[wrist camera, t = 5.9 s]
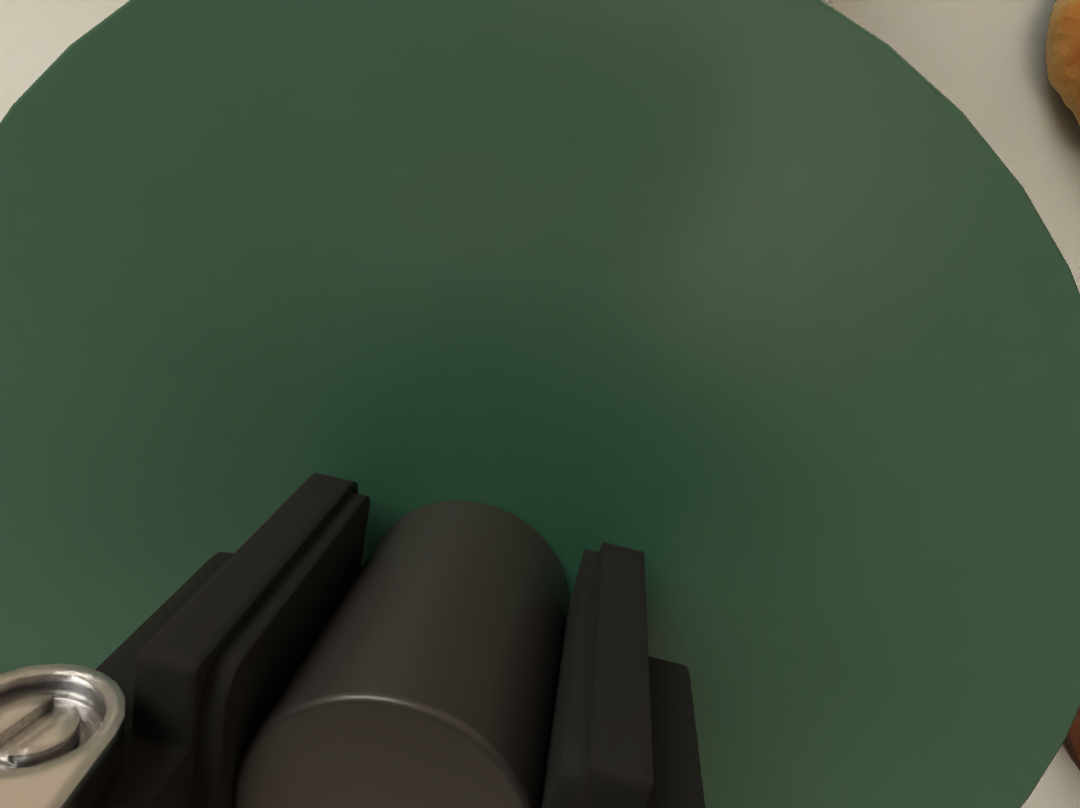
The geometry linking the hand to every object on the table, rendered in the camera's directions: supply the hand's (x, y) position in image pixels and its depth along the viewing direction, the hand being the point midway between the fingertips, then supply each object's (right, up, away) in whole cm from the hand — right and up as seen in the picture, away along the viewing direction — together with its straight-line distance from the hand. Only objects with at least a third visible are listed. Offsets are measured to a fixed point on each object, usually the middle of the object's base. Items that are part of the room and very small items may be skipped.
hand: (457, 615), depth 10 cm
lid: (0, 0, +1) cm, 1 cm away
